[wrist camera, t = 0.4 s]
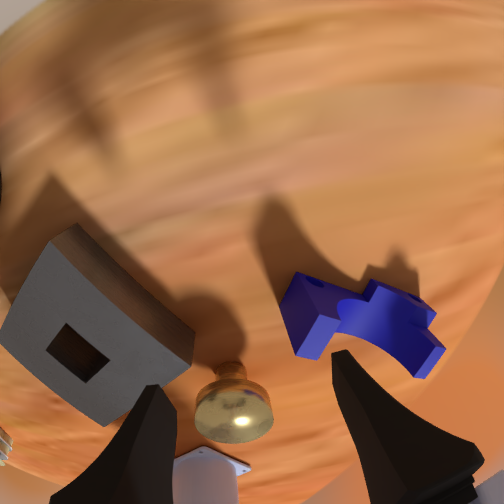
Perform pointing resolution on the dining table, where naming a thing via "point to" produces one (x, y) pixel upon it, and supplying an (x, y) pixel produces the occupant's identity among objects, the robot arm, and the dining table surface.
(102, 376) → the block
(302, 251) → the dining table surface
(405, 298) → the blue angular block
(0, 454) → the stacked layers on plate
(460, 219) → the dining table surface
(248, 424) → the brass pin
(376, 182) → the dining table surface
